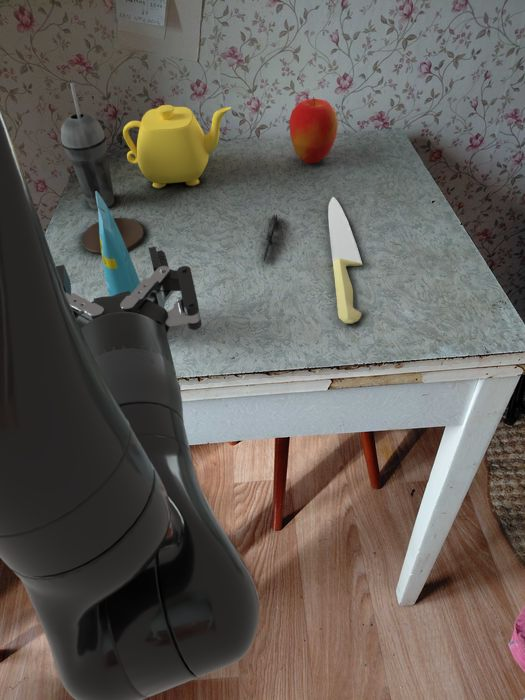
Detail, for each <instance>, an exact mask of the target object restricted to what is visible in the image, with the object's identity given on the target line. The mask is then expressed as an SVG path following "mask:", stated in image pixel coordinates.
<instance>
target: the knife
mask: <svg viewBox="0 0 525 700" xmlns="http://www.w3.org/2000/svg"><path fill="white" fill-rule="evenodd" d="M327 215H328V216H327V218H328V231H329V238H330V239H329V240H330V241H329V242H330V250H331V259H332V268H333V276H334V286H335V294H336V296H335V297H336V307H337V316H338V318H339V320H340V321H341V322H342V323H343V324H345V325H348V324H349V325H352V324H354V323H357V322H358V321H359V320H360V319H361V317H362V312H361V311H359V310H357V309H356V308H355V307H354V289H353V285H352V282H351V280H350V276H349V273H348V270H347V267H360V266H363V262H362V258H361V255H360V252H359V249H358V245H357V242H356V240H355V237H354V234H353V231H352V228H351V226H350V223H349V220H348V219H347V216H346V214H345V211H344V209H343V208H342V206H341V204H340V202H339V201H338V200H337V199H336V198H335V197H334V196H332V197H331V199H330V200H329V203H328V206H327Z"/></svg>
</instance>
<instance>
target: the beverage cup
mask: <svg viewBox="0 0 525 700" xmlns="http://www.w3.org/2000/svg"><path fill="white" fill-rule="evenodd" d="M69 86H70V89H71V93H72V97H73V102H74V107H75V111H76V113H73V114H71V115H69V116H68V117H67V118H66V119H65V120H64V121H63V123H62V125H61V128H60V139H61V147H62V148H63V149H64V151H65V153H66V155H67V157H68V158H69V160H70V163H71V165H72V168H73V170H74V173H75V175H76V178H77V180H78V182H79V185H80V187H81V189H82V192H83V194H84V197H85V199H86V201H87V203H88V206H89V207H90V208H91V209H93V210H98V206H97V201H96V193H95V191H97V192H98V193H99V195H100V196H101V198H102V199H103V201H104V202H105V204H106V206H107V207H108V208H110V207H111V206H113V205H114V204H115V197H114V187H113V183H112V182H113V181H112V176H111V170H110V165H109V159H108V152H107V151H108V145H107V136H106V134H105V132H104V129H103V127H102V126H101V124H100V123H99V122H98V121H97V120H96V119H95V118H94V117H92V116H91V115H89V114H86V113H81V112H80V111H81V110H80V107H79V103H78V97H77V94H76V89H75V84H74V82H70V84H69Z"/></svg>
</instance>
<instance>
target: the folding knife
mask: <svg viewBox="0 0 525 700" xmlns="http://www.w3.org/2000/svg"><path fill="white" fill-rule="evenodd" d="M277 222H278V214H273V215H272V216H271V219H270V223H269V224H268V231H267V234H266V239H265V241H266V245H265V251H264V256H263V263H265V262H266V260H267V258H268V257H267V256H268V253H269V249H270V246H271V245H273V238H274V235H275V230H276V226H277Z"/></svg>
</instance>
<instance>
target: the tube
mask: <svg viewBox="0 0 525 700" xmlns="http://www.w3.org/2000/svg"><path fill="white" fill-rule="evenodd" d="M95 193H96V201H97V206H98V209H97V214H98V216H97V217H98V222H99V233H100V245H101V254H102V255H101V261H102V262H101V263H102V266H103V273H104V279H105V285H106V289H107V293H108V296H114V295H116V294H119V293H122V292H127V291H130V293H132V292H133V291H134V290H135V289H136V287H137V286H138V285H139V284H140V283H141V281H140V278H139V276H138V272H137V271H136V268H135V266H134V263H133V260H132V258H131V255H130V253H129V250H127V248H126V246H125V243H124V241H123V239H122V236H121V234H120V232H119V230H118V227H117V225H116V223H115V221H114V219H113V218H114V217H113V215H112V213H111V211H110V209H109V207H107V206H106V204H105V202H104V201H103V199H102V198H101V196H100V195H99V193H98V192H97V191H95Z"/></svg>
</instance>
